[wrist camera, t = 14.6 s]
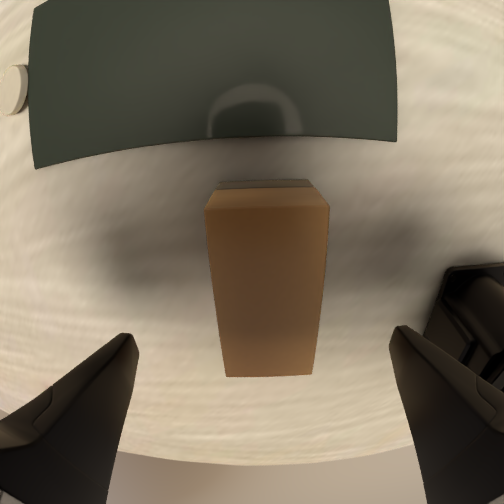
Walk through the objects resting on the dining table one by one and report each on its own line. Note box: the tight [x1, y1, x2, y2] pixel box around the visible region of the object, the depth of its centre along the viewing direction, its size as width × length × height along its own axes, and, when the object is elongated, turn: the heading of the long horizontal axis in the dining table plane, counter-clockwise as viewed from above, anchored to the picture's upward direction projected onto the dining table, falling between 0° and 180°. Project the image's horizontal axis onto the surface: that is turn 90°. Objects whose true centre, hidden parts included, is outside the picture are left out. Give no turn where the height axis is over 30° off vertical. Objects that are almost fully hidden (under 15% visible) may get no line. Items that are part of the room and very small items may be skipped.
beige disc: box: [0, 65, 28, 116], centre depth 9 cm, size 3×3×1 cm
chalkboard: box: [28, 0, 397, 169], centre depth 9 cm, size 18×10×1 cm, turn 92°
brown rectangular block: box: [204, 180, 330, 377], centre depth 12 cm, size 4×8×4 cm, turn 2°
